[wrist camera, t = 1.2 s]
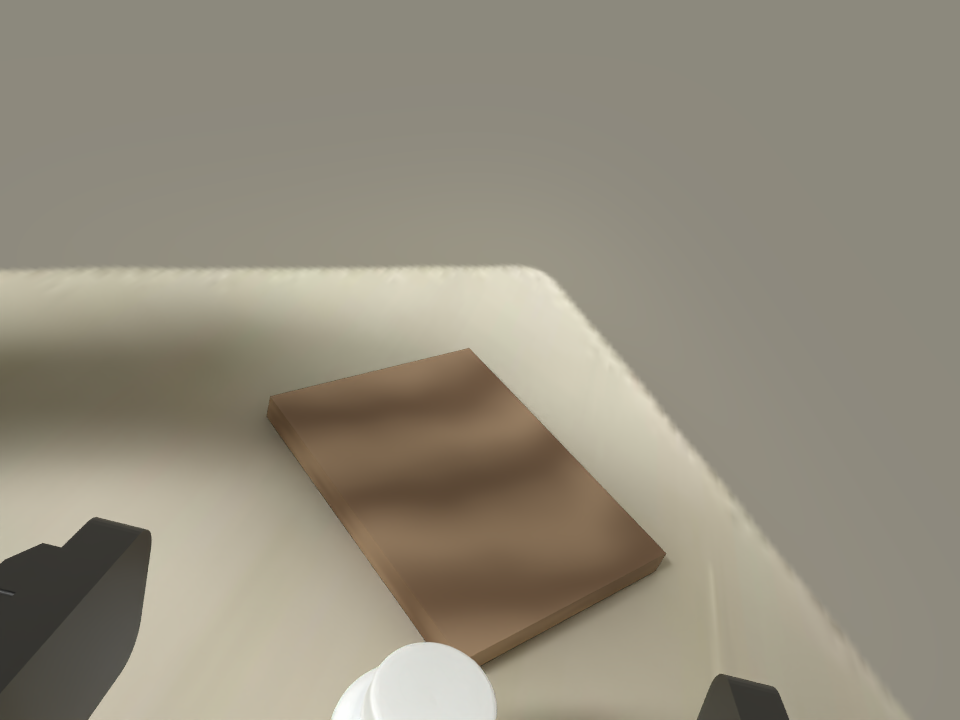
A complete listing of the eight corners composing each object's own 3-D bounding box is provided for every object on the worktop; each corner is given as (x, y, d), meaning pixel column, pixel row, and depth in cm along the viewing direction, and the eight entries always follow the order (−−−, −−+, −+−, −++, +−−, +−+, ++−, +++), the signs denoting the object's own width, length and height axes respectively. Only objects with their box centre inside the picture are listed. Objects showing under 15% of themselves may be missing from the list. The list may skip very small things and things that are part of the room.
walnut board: (266, 416, 48) (270, 396, 47) (463, 366, 57) (469, 348, 56) (453, 680, 39) (462, 661, 38) (655, 571, 47) (666, 553, 46)
